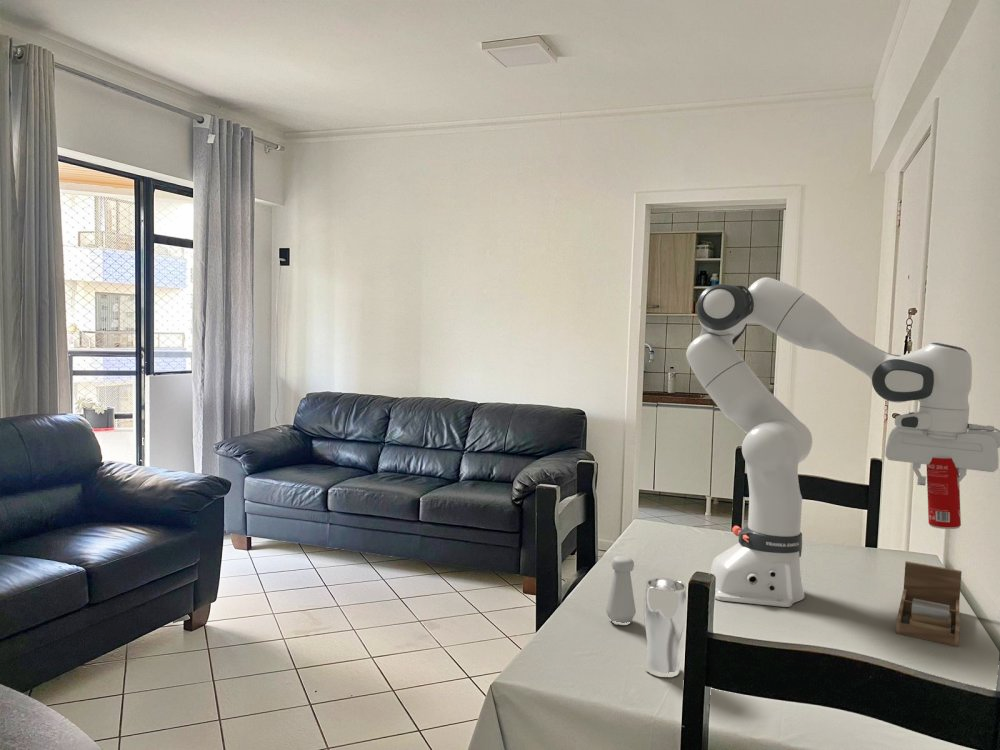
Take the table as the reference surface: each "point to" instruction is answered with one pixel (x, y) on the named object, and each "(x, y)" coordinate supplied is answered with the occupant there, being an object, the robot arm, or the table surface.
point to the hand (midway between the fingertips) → (937, 487)
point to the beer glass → (664, 622)
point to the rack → (930, 599)
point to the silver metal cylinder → (931, 615)
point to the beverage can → (943, 494)
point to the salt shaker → (621, 591)
